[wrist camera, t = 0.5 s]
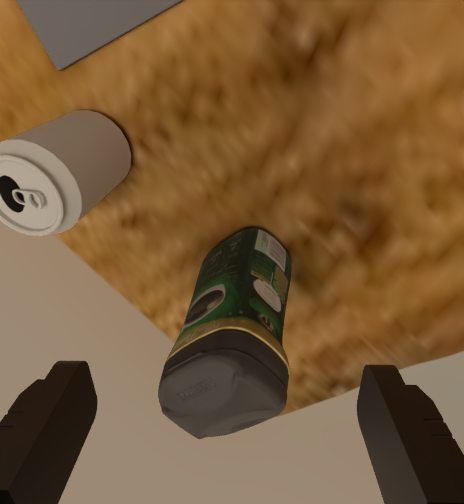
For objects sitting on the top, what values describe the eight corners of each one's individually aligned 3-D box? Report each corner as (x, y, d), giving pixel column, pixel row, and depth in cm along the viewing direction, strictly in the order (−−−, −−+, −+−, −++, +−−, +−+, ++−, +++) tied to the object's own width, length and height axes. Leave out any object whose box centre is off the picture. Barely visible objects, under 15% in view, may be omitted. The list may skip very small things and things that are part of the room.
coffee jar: (239, 303, 43) (206, 461, 28) (193, 260, 41) (128, 407, 25) (305, 264, 39) (309, 427, 23) (257, 212, 36) (226, 357, 21)
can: (53, 104, 33) (-51, 141, 23) (130, 111, 32) (56, 152, 23) (69, 180, 37) (-13, 238, 27) (138, 187, 37) (78, 251, 27)
